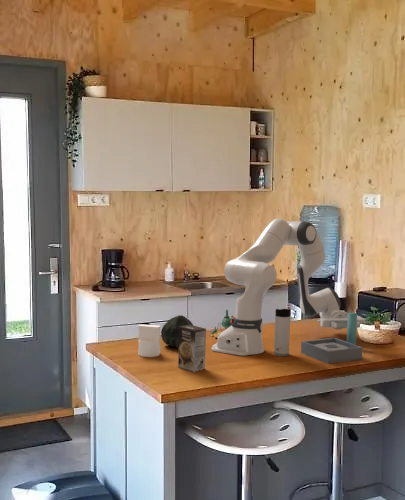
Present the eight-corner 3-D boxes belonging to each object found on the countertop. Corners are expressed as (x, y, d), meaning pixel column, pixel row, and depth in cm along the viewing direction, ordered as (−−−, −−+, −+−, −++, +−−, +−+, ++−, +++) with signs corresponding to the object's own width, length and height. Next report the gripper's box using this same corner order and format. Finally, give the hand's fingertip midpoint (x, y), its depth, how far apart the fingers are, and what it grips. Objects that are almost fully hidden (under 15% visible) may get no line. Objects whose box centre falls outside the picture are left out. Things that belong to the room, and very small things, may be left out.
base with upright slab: (162, 352, 268) (163, 324, 267) (155, 357, 260) (156, 328, 258) (142, 350, 271) (143, 322, 269) (135, 355, 262) (135, 327, 261)
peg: (345, 349, 279) (347, 313, 278) (346, 347, 283) (348, 312, 281) (355, 350, 278) (356, 314, 276) (355, 348, 282) (357, 312, 280)
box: (327, 363, 256) (328, 351, 256) (300, 352, 272) (301, 341, 272) (362, 358, 265) (362, 347, 264) (334, 348, 280) (334, 337, 280)
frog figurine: (222, 333, 306) (225, 304, 303) (244, 345, 291) (248, 314, 288) (205, 335, 300) (208, 305, 298) (227, 348, 286) (231, 316, 283)
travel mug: (277, 357, 265) (279, 309, 263) (271, 353, 271) (273, 306, 269) (291, 356, 266) (293, 309, 264) (285, 352, 273) (287, 306, 271)
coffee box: (177, 367, 247) (178, 326, 245) (189, 364, 251) (190, 323, 250) (193, 372, 240) (194, 330, 239) (205, 369, 245) (206, 328, 243)
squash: (171, 327, 290) (164, 307, 280) (202, 332, 286) (196, 311, 275) (161, 353, 281) (153, 333, 271) (193, 358, 277) (186, 338, 266)
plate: (328, 358, 260) (329, 351, 260) (311, 351, 271) (311, 344, 270) (351, 355, 266) (352, 348, 265) (333, 348, 276) (333, 342, 276)
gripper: (316, 312, 296) (325, 319, 282) (358, 312, 299) (369, 318, 285) (315, 326, 297) (325, 333, 283) (357, 326, 299) (369, 332, 286)
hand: (348, 326), depth 284 cm, fingers open, 8 cm apart
